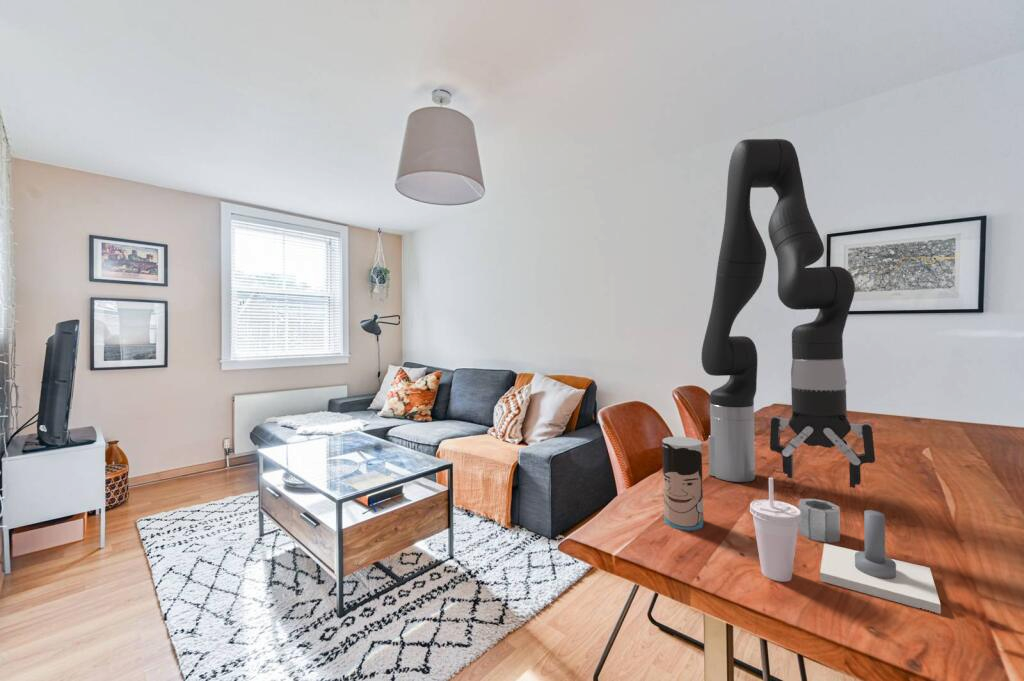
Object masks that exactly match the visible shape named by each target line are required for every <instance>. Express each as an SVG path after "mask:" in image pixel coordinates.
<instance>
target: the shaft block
mask: <svg viewBox="0 0 1024 681" xmlns="http://www.w3.org/2000/svg"><path fill="white" fill-rule="evenodd" d="M863 513H864V514H863V517H864V518H863V520H864V522H863V523H864V524H863V525H864V533H863V534H864V551H859V550H854V549H850V548H847V547H841V546H839V545H833V544H830V543H826V542H823V550H822V555H821V557H822V558H821V561H820V562H821V564H820V569H819V570H820V571H819V581H820V582H823V583H827V584H830V585H834V586H837V587H840V588H845V589H848V590H851V591H855V592H860V593H863V594H865V595H866V594H867V595H868V596H869V595H870V596H874V597H878V598H881V599H884V600H887V601H892V602H896V603H897V604H898V603H900V604H902V605H906V606H910V607H912V608H913V607H914V608H917V609H920V608H922V609H921V610H924V609H927V610H930V611H929V612H931V611H932V612H931V613H934V612H935V613H934V614H939V615H941V613H942V611H941V610H942V608H941V602H940V598H939V594H938V591H937V588H936V584H935V581H934V577H933V574H932V571H931V568H930V567H927V566H924V565H919V564H915V563H911V562H907V561H903V560H898V559H893V558H889V557H888V556H886V521H885V520H886V515H885V514H884V513H882V512H880V511H877V510H872V509H867V510H864V511H863ZM927 610H926V611H927Z"/></svg>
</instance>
